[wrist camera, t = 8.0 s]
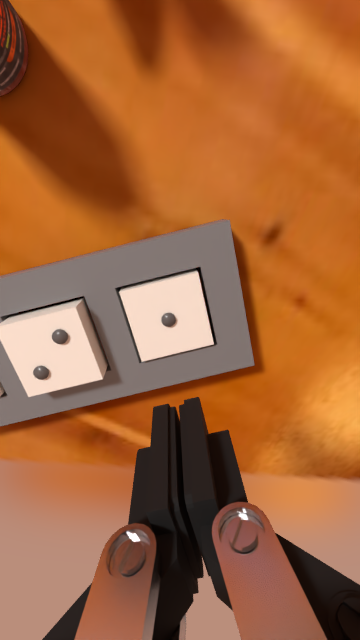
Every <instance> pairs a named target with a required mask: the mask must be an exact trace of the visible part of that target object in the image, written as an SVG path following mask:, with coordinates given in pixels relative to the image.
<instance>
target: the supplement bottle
mask: <svg viewBox="0 0 360 640" xmlns="http://www.w3.org/2000/svg"><path fill="white" fill-rule="evenodd" d="M27 63H28V44H27V39H26V34H25V31H24V28H23V25H22V22H21V20H20V18H19V16H18V15H17V13H16V11H15V9H14V8H13V6H12V5H11V3H10V2H9V0H0V96H2V95H5V94H8V93H9V92H10V91H12V90H13V89H14V88H15V87H16V86H17V85H18V84H19V83H20V81H21V80H22V78H23V76H24V74H25V70H26V68H27Z"/></svg>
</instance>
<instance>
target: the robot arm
mask: <svg viewBox="0 0 360 640" xmlns="http://www.w3.org/2000/svg"><path fill="white" fill-rule="evenodd" d="M179 412H180V420H179V417H178V414H177V410H176V407H170V405H169V404H165V405H160V406H156V407H154V408H153V419H152V433H151V446H150V447H147V448H142V449H139V450H138V452H137V458H136V466H135V474H134V482H133V490H132V498H131V506H130V514H129V522H128V525H126V526H124V527H122V528H120V529H119V530H118V531H117V532H115V533H114V534H113V535H112V536H111V538H110V539H109V540H108V542H107V543H106V545H105V547H104V549H103V551H102V554H101V557H100V560H99V563H98V566H97V570H96V573H95V576H94V579H93V582H92V583H91V585H90V586H89V587H88V588H87V589H86V590H85V592H84V593H83V594H82V595H81V596H80V597H79V598H78V599H77V601H76V602H75V603H74V604H73V605H72V606H71V607H70V609H69V610H68V611H67V612H66V613H65V614H64V615H63V617H62V618H61V619H60V620H59V621H58V622H57V624H56V625H55V626H54V627H53V628H52V629H51V630H50V632H49V633H48V634H47V635H46V636H45V637H44V638H43V639H42V640H185V635H186V612H187V610H188V609H189V607H190V606H191V604H192V602H193V594H195V593H198V581H197V579H198V578H203V563H202V557H203V560H204V563H205V566H206V569H207V572H208V575H209V576H211V579H212V582H213V585H214V588H215V591H216V594H217V597H218V598H219V599H220V600H221V601H223V602H224V603H225V604H226V605H227V606H228V607H229V608H230V609H231V610H233V612H234V616H235V619H236V623H237V626H238V630H239V633H240V637H241V640H360V585H359V584H357V583H355V582H354V581H352V580H351V579H349V578H347V577H346V576H344V575H342V574H341V573H339V572H338V571H336V570H334V569H333V568H331V567H330V566H328V565H326V564H325V563H323V562H322V561H320V560H318V559H317V558H315V557H314V556H312V555H310V554H309V553H307V552H305V551H304V550H302V549H301V548H299V547H297V546H296V545H294V544H292V543H291V542H289V541H288V540H286V539H284V538H283V537H281V536H280V535H278V534H276V533H275V532H274V530H273V528H272V526H271V524H270V522H269V520H268V518H267V517H266V515H265V514H264V512H263V511H262V510H260V509H259V508H258V507H257V506H255V505H252V504H250V503H248V501H247V497H246V493H245V490H244V486H243V482H242V478H241V475H240V471H239V467H238V464H237V460H236V456H235V453H234V449H233V445H232V442H231V438H230V434H229V431H228V430H225V431H220V432H216V433H211V434H208V430H207V426H206V422H205V418H204V414H203V411H202V407H201V403H200V399H199V397H196V398H191V399H187V400H184V404H183V405H179Z"/></svg>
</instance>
